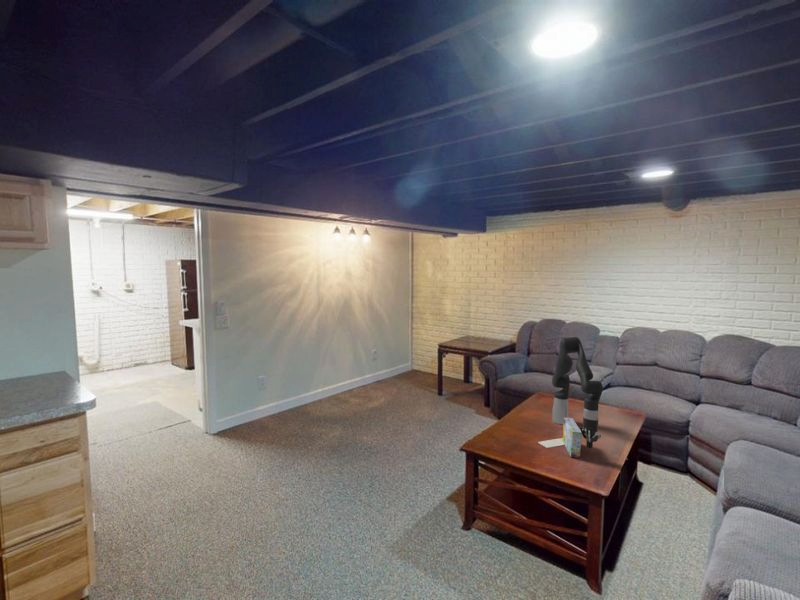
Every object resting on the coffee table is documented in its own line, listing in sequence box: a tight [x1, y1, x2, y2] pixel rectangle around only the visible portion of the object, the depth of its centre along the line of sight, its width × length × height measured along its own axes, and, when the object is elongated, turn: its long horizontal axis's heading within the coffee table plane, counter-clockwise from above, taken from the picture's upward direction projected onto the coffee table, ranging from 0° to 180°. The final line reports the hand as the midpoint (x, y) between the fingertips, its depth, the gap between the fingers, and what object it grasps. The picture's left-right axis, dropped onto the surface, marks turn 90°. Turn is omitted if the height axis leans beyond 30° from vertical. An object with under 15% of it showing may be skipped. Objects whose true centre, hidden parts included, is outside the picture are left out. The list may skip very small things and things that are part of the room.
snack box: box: [562, 417, 583, 459], centre depth 230 cm, size 21×6×15 cm, turn 170°
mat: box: [537, 437, 565, 449], centre depth 240 cm, size 8×24×1 cm, turn 110°
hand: (589, 447), depth 218 cm, fingers closed
